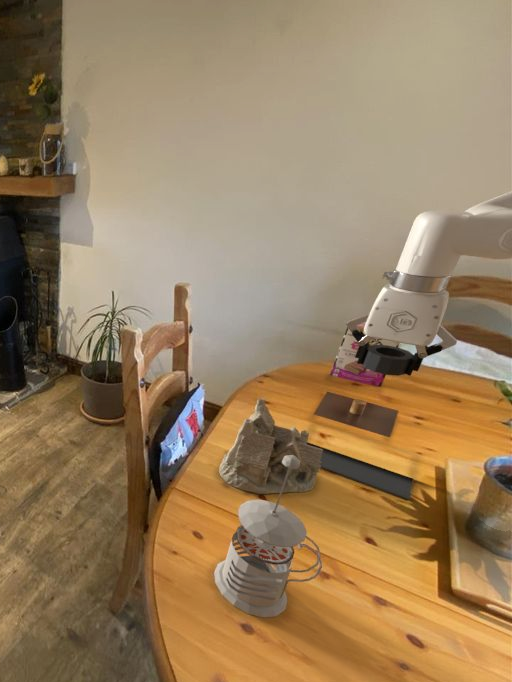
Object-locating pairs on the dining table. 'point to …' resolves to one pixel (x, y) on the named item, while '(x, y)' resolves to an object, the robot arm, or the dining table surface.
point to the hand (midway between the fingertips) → (384, 366)
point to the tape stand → (357, 413)
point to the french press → (263, 555)
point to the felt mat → (366, 473)
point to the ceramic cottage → (269, 456)
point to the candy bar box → (347, 362)
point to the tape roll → (387, 360)
